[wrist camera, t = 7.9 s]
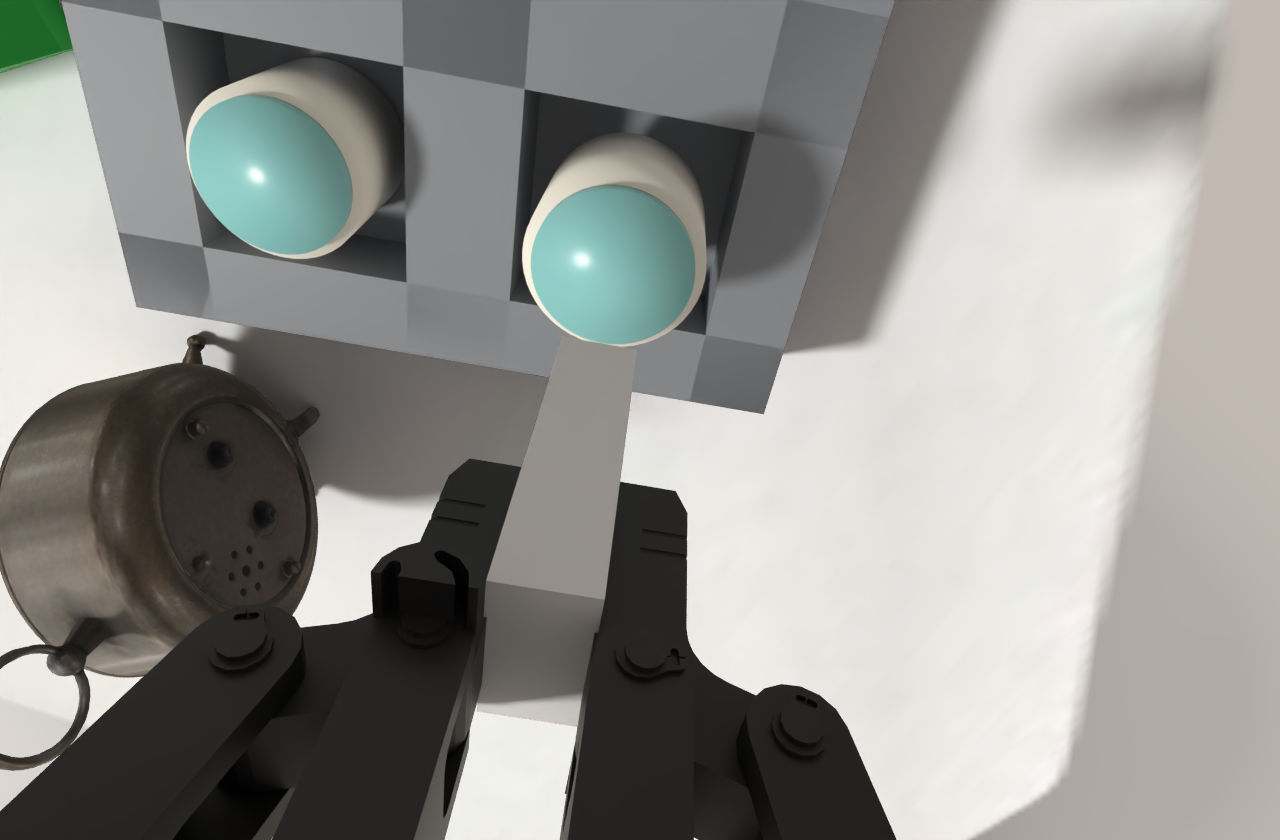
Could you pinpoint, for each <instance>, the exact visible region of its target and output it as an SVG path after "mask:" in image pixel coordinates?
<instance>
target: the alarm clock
mask: <svg viewBox="0 0 1280 840" xmlns="http://www.w3.org/2000/svg"><path fill="white" fill-rule="evenodd" d="M187 345H188V346H189V348H188V350H187V352H186V355H185V357H184V359H183V362H182V363H176V364H170V365H165V366H161V367H156V368H152V369H147V370H143V371H139V372H135V373H131V374H126V375H122V376H118V377H114V378H109V379H105V380H101V381H96V382H92V383H87V384H83V385H79V386H76V387H74V388H71V389H69V390H67V391H65V392H63V393H61V394H59V395H57V396H56V397H54V398H52V399H51V400H49V401H48V402H47V403H46V404H44V405H43V406H42V407H40V408H39V409H38V410H36V411H35V412H34V414H33V415H32V416H31V417H30V418H29V419H28V420H27V421H26V422H25V423H24V425H23V426H22V427H21V429H20V430H19V431H18V433H17V434H16V436H15V437H14V439H13V441H12V442H11V444H10V446H9V448H8V451H7V453H6V455H5V457H4V459H3V462H2V465H1V468H0V571H1V574H2V577H3V580H4V583H5V585H6V588H7V590H8V593H9V595H10V597H11V599H12V601H13V603H14V604H15V606H16V608H17V609H18V611H19V612H20V614H21V615H22V617H23V618H24V620H25V621H26V623H27V624H28V625H29V627H30V628H31V629H32V630H33V631H34V633H35V634H36V635H37V636H38V637H39V638H40V639H41V640H42V641H43V642H44V643H45V644H46V645H40V644H39V645H32V646H29V647H23V648H19V649H15V650H12V651H10V652H8V653H6V654H4V655H2V656H1V657H0V669H1V668H2V667H3V666H4V665H6V664H8V663H9V662H11V661H13V660H15V659H17V658H19V657H21V656H24V655H28V654H36V653H41V654H48V657H47V666H48V668H49V670H50V671H51V672H52V673H54V674H56V675H58V676H70V675H73V676H75V679H76V681H77V684H78V687H79V706H78V710H77V713H76V716H75V719H74V722H73V724H72V726H71V728H70V729H69V731H68V732H67V734H66V735H65V736H64V737H63V738H62V739H61V741H60V742H59V743H57V744H56V745H55V746H53V747H52V748H50V749H48V750H46V751H44V752H42V753H40V754H38V755H34V756H30V757H24V758H15V757H10V756H7V755H3V754H0V769H3V770H11V771H14V770H24V769H29V768H34V767H36V766H39V765H42V764H45V763H47V762H49V761H51V760H53V759H54V758H56V757H57V756H59V755H61V754H62V753H63V752H64V751H65V750H66V749H67V748H68V747H69V746H70V745H71V743H72V742H73V741H74V740H75V738H76V737H77V735H78V733H79V732H80V730H81V728H82V726H83V724H84V722H85V720H86V717H87V714H88V710H89V702H90V686H89V682H88V678H87V676H86V674H85V672H84V669H86V670H89V671H92V672H95V673H98V674H102V675H107V676H113V677H142V676H145V675H146V674H147V673H148V672H149V671H150V670H151V669H152V668H153V667H154V666H155V665H156V664H157V663H159V662H160V661H161V660H162V659H163V658H164V657H165V656H166V655H167V654H168V653H169V652H170V651H171V650H172V649H173V648H174V647H176V646H177V645H178V644H179V643H180V642H181V641H182V640H183V639H184V638H185V637H186V636H187V635H188V634H189V633H190V632H191V631H193V630H194V629H195V628H196V627H197V626H199V625H200V624H202V623H203V622H205V621H206V620H207V619H209V618H210V617H212V616H213V615H215V614H218V613H220V612H223V611H226V610H228V609H231V608H234V607H236V606H245V605H255V604H263V605H268V606H273V607H278V608H281V609H283V610H284V611H286V612H287V613H289V614H290V615H293V613H294V612H295V610H296V609H297V607H298V605H299V603H300V601H301V599H302V597H303V595H304V593H305V591H306V588H307V586H308V583H309V580H310V577H311V573H312V570H313V566H314V561H315V556H316V549H317V539H318V516H317V505H316V498H315V492H314V486H313V483H312V479H311V475H310V472H309V469H308V466H307V463H306V460H305V457H304V455H303V452H302V450H301V448H300V446H299V443H298V437H299V436H301V435H302V434H303V433H304V432H305V431H306V430H307V429H308V428H309V427H310V426H311V425H313V424H314V423H315V422H316V421H317V419H318V418H319V412H318V410H317V409H316V408H309V409H307V410H306V411H305V412H303V413H302V414H301V415H299V416H298V417H296V418H295V419H294V420H292V421H288V420H285V419H284V418H283V417H282V416H281V414H280V413H279V412H278V411H277V410H276V408H275V407H274V406H273V405H272V404H271V403H270V402H269V401H268V400H267V399H266V398H265V397H264V396H263V395H262V394H261V393H260V392H258V391H257V390H256V389H255V388H253V387H252V386H251V385H249V384H248V383H247V382H245V381H243V380H242V379H240V378H238V377H236V376H234V375H232V374H230V373H228V372H225V371H222V370H220V369H217V368H214V367H210V366H207V365H203V362H202V357H201V352H200V351H201V350H202V349H203V348H204V346H205V341H204V339H203V337H201V336H198V335H193V336H191V337H189V338H188V339H187Z"/></svg>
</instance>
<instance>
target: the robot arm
mask: <svg viewBox="0 0 1280 840" xmlns="http://www.w3.org/2000/svg"><path fill="white" fill-rule="evenodd" d="M636 354H637V350H636V349H631V348H625V347H619V346H614V345H608V344H602V343H597V342H591V341H585V340H579V339H574V338H568V337H562V339H561V342H560V346H559V349H558V352H557V355H556V358H555V362H554V365H553V368H552V371H551V374H550V378H549V381H548V384H547V387H546V390H545V394H544V397H543V400H542V403H541V406H540V410H539V413H538V416H537V419H536V422H535V426H534V429H533V432H532V435H531V438H530V442H529V445H528V448H527V451H526V454H525V458H524V461H523V464H522V467H517V466H511V465H505V464H499V463H493V462H487V461H481V460H475V459H469V460H467V461H466V462H465V463H464V464H462V465H461V466H460V467H459V468H458V469H456V470H455V471H454V472H453V473H452V474H450V475H449V477H448V479H447V481H446V484H445V486H444V488H443V491H442V493H441V495H440V498H439V502H437V504H436V507H435V509H434V511H433V513H432V517H431V520H429V523H428V525H427V527H426V529H425V532H424V534H423V536H422V538H421V541H420V542H418V543H414V544H410V545H406V546H402V547H399V548H397V549H395V550H394V551H392V552H390V553H389V554H387V555H385V556H384V557H382V558H381V559H380V561H379V562H378V563H377V564H376V566H375V567H374V568H373V569H372V571H371V585H372V604H373V613H372V614H370V615H367V616H364V617H362V618H359V619H357V620H353V621H348V622H343V623H338V624H330V625H321V626H312V627H303V628H300V627H299V625H298V623H297V621H296V619H295V617H293V616H292V615H290V614H289V613H287V612H286V611H284V610H283V609H281V608H278V607H273V606H268V605H263V604H255V605H245V606H236V607H234V608H231V609H228V610H226V611H223V612H220V613H218V614H215V615H213V616H212V617H210V618H209V619H207V620H206V621H205V622H203V623H202V624H200V625H199V626H197V627H196V628H195V629H194V630H193V631H191V632H190V633H189V634H188V635H187V636H186V637H185V638H184V639H183V640H182V641H181V642H180V643H179V644H178V645H177V646H176V647H174V648H173V649H172V650H171V651H170V652H169V653H168V654H167V655H166V656H165V657H164V658H163V659H162V660H161V661H160V662H159V663H157V664H156V665H155V666H154V667H153V668H152V669H151V670H150V671H149V672H148V673H147V674H146V675H145V676H144V677H143V678H141V679H140V680H139V681H138V682H137V683H136V684H135V685H134V686H133V687H132V688H131V689H130V690H129V691H128V692H127V693H126V694H124V695H123V696H122V697H121V698H120V699H119V700H118V701H117V702H116V703H115V704H114V705H113V706H112V707H111V708H110V709H109V710H107V711H106V712H105V713H104V714H103V715H102V716H101V717H100V718H99V719H98V720H97V721H96V722H95V723H94V724H93V725H92V726H90V727H89V728H88V729H87V730H86V731H85V732H84V733H83V734H82V735H81V736H80V737H79V738H78V739H77V740H76V741H75V742H74V743H72V744H71V745H70V746H69V747H68V748H67V749H66V750H65V751H64V752H63V753H62V754H61V755H60V756H59V757H58V758H56V759H55V760H54V761H53V762H52V763H51V764H50V765H49V766H48V767H47V768H46V769H45V770H44V771H43V772H42V773H40V774H39V776H37V777H36V778H35V779H34V780H33V781H32V782H31V783H30V784H29V785H28V786H27V787H26V788H24V790H22V791H21V792H20V793H19V794H18V795H17V796H16V797H15V798H14V799H13V800H12V801H11V802H10V803H9V804H8V805H6V806H5V807H4V808H3V809H2V810H1V811H0V840H271V839H272V840H444V839H445V835H446V832H447V828H448V824H449V820H450V817H451V813H452V809H453V805H454V802H455V798H456V794H457V790H458V787H459V783H460V779H461V775H462V772H463V768H464V764H465V760H466V757H467V753H468V749H469V733H470V726H471V722H472V718H473V715H474V711H475V708H476V704H477V711H478V712H484V713H491V714H497V715H504V716H511V717H517V718H524V719H530V720H537V721H543V722H550V723H556V724H563V725H570V726H576V727H577V734H576V741H575V746H574V751H573V756H572V761H571V766H570V771H569V776H568V781H567V786H566V791H565V794H566V801H565V808H564V815H563V821H562V828H561V835H560V840H694V838H696V839H698V840H896V837H895V835H894V833H893V830H892V828H891V826H890V824H889V821H888V819H887V817H886V814H885V812H884V810H883V808H882V805H881V803H880V801H879V798H878V796H877V794H876V791H875V789H874V787H873V785H872V782H871V780H870V778H869V775H868V773H867V771H866V769H865V766H864V764H863V762H862V759H861V757H860V755H859V753H858V750H857V748H856V746H855V743H854V741H853V739H852V736H851V734H850V732H849V730H848V727H847V726H846V724H845V723H844V721H843V719H842V718H841V716H840V715H839V713H838V712H837V710H836V709H835V708H834V707H833V706H832V705H830V704H829V703H828V702H827V701H826V700H825V699H823V698H822V697H821V696H820V695H818V694H816V693H814V692H811V691H809V690H807V689H805V688H803V687H800V686H792V685H784V684H780V685H776V686H773V687H769V688H765V689H763V690H762V691H761V692H760V693H759V694H758V695H754V694H751V693H749V692H747V691H745V690H743V689H741V688H738V687H736V686H734V685H732V684H730V683H728V682H726V681H724V680H723V679H721V678H719V677H717V676H716V675H714V674H713V673H712V672H710V671H709V670H708V669H707V668H706V667H705V666H704V665H702V663H701V662H700V661H699V659H698V658H697V657H696V655H695V654H694V653H693V651H692V648H691V646H690V644H689V641H688V637H687V629H686V611H687V560H686V558H687V512H686V510H685V508H684V506H683V504H682V502H681V500H680V499H679V497H678V495H677V493H676V491H672V490H666V489H660V488H654V487H648V486H642V485H636V484H630V483H624V482H620V478H621V470H622V462H623V455H624V447H625V439H626V431H627V424H628V416H629V408H630V400H631V393H632V385H633V377H634V369H635V362H636ZM477 700H478V701H477ZM272 837H273V838H272Z"/></svg>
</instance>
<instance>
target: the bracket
mask: <svg viewBox="0 0 1280 840" xmlns="http://www.w3.org/2000/svg"><path fill="white" fill-rule="evenodd" d="M70 50H73V47H72V42H71V38H70V34H69V30H68V26H67V22H66V18H65V14H64V11H63V9H62V7H61V6H60V4H59V2H58V1H57V0H0V73H1V72H4V71H8V70H11V69H14V68H17V67H20V66H23V65H26V64H29V63H33V62H36V61H39V60H42V59H45V58H48V57H51V56H54V55H58V54H61V53H64V52H67V51H70Z"/></svg>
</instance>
